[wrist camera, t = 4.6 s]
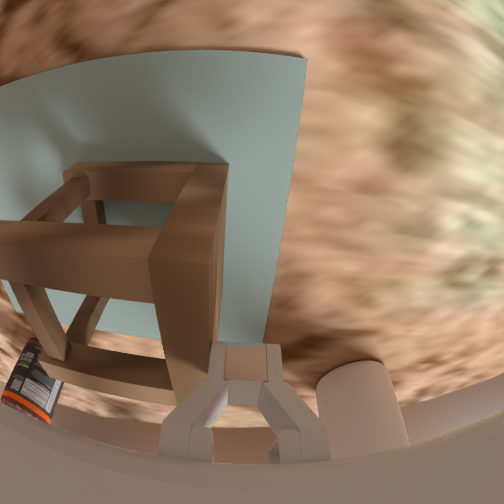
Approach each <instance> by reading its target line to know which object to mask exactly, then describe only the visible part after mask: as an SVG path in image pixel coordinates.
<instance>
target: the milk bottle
mask: <svg viewBox="0 0 504 504" xmlns="http://www.w3.org/2000/svg"><path fill="white" fill-rule="evenodd" d="M316 397H317V405H318V412H319V419H320V420H321V421H322V422H323V424H324V425H325V426H326V427H327V434H328V441H329V448H330V456H331V460H337V459H344V458H351V457H357V456H363V455H368V454H373V453H378V452H383V451H388V450H392V449H396V448H400V447H404V446H408V445H410V444H409V440H408V436H407V432H406V428H405V425H404V421H403V417H402V414H401V411H400V407H399V404H398V401H397V397H396V394H395V391H394V388H393V385H392V382H391V379H390V376H389V373H388V371H387V369H386V367H385V366H384V365H383V364H381V363H379V362H376V361H370V360H367V361H357V362H353V363H349V364H346V365H343V366H340V367H338V368H336V369H334V370H332V371H330V372H329V373H327V374H326V375H325V376H323V377H322V378H321V379H320V380H319V382H318V384H317V387H316Z"/></svg>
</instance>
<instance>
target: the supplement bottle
mask: <svg viewBox="0 0 504 504" xmlns="http://www.w3.org/2000/svg"><path fill="white" fill-rule="evenodd" d="M42 350H43V347H42V345H41V343H40V342H39V340H38V339H31V340H29V341H28V342H27V344H26V346H25V347H24V349H23V351H22V353H21V355H20V357H19V359H18V361H17V363H16V365H15V367H14V369H13V371H12V373H11V376H10V378H9V380H8V382H7V384H6V387H5V389H4V391H3V394H2V397H1V402H2V403H4V404H5V405H7V406H9V407H11V408H13V409H15V410H17V411H20V412H22V413H24V414H26V415H28V416H30V417H33V418H35V419H37V420H39V421H42V422H44V423H47V424H49V425H50V422H51V419H52V416H53V413H54V410H55V407H56V404H57V401H58V399H59V396H60V393H61V390H62V387H63V385H64V382H62V381H59V380H56V379H53V378H50V377H49V375H48V374H47V373H46V371H45V370H44V368H43V367H42V366H41V364H40V363H39V361H38V358H39V356H40V354H41V352H42Z"/></svg>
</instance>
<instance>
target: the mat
mask: <svg viewBox="0 0 504 504" xmlns="http://www.w3.org/2000/svg"><path fill="white" fill-rule="evenodd" d="M307 60H308V59H304V58H298V57H292V56H285V55H277V54H268V53H258V52H246V51H229V50H174V51H157V52H145V53H135V54H127V55H119V56H113V57H106V58H100V59H95V60H90V61H85V62H80V63H75V64H71V65H67V66H63V67H59V68H55V69H51V70H48V71H44V72H41V73H37V74H34V75H31V76H28V77H25V78H22V79H19V80H16V81H13V82H11V83H8V84H5V85H3V86H0V220H14V221H20V220H21V219H22V218H24V217H25V216H26V215H27V214H28V213H29V212H30V211H32V210H33V209H34V208H35V207H36V206H37V205H39V204H40V203H41V202H42V201H43V200H45V199H46V198H47V197H48V196H49V195H51V194H52V193H53V192H55V191H56V190H57V189H58V188H60V187H61V186H62V185H64V181H63V174H62V172H64V171H65V170H67V169H68V168H70V167H71V166H73V165H74V164H76V163H82V162H107V161H178V162H204V163H222V164H229V177H228V193H227V209H226V227H225V247H224V268H223V292H222V302H221V312H220V322H219V332H218V341H226V343H227V342H242V343H263V337H264V332H265V327H266V322H267V316H268V311H269V306H270V300H271V295H272V289H273V284H274V278H275V273H276V267H277V261H278V256H279V250H280V244H281V238H282V232H283V226H284V220H285V214H286V208H287V202H288V195H289V189H290V183H291V176H292V170H293V163H294V156H295V150H296V143H297V136H298V129H299V122H300V114H301V107H302V100H303V92H304V84H305V77H306V69H307ZM103 203H104V210H105V216H106V223H107V224H109V225H128V226H146V227H163V225H164V223H165V221H166V219H167V218H168V216H169V214H170V212H171V210H172V208H173V206H174V204H175V203H170V202H147V201H115V200H103ZM63 222H67V223H84V221H83V216H82V211H81V205H79V206H78V207H77V208H76V209H75V210H74V211H73V212H72V213H71V214H70V215H69V216H68V217H67V218H66V219H65V220H64V221H63ZM1 281H2V283H3V285H4V287H5V290H6V292H7V294H8V296H9V298H10V300H11V302H12V304H13V306H14V308H15V310H16V312H20V313H23V311H22V309H21V307H20V305H19V303H18V301H17V299H16V297H15V295H14V293H13V291H12V288H11V286H10V284H9V282H8V281H6V280H2V279H1ZM45 290H46V293H47V295H48V298H49V300H50V302H51V305H52V307H53V309H54V311H55V313H56V316H57V318H58V320H59V322H61V323H65V324H70V325H71V323H72V321H73V319H74V317H75V315H76V313H77V311H78V310H79V308H80V306H81V304H82V302H83V300H84V299H85V297H86V295H84V294H77V293H71V292H65V291H59V290H53V289H48V288H45ZM95 330H101V331H106V332H112V333H118V334H124V335H131V336H137V337H144V338H152V339H159V340H161V336H160V331H159V326H158V321H157V316H156V310H155V305H154V304H152V303H144V302H135V301H127V300H119V299H112V298H110V299H109V301H108V303H107V305H106V307H105V309H104V311H103V313H102V315H101V317H100V320H99V322H98V324H97V326H96V328H95Z"/></svg>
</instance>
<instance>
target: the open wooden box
mask: <svg viewBox="0 0 504 504" xmlns="http://www.w3.org/2000/svg"><path fill="white" fill-rule="evenodd" d="M62 174H63V181H64V185H62V186H61V187H60V188H58V189H57V190H56V191H55V192H53V193H52V194H51V195H49V196H48V197H47V198H46V199H45V200H43V201H42V202H41V203H40V204H39V205H37V206H36V207H35V208H34V209H33V210H32V211H30V212H29V213H28V214H27V215H26V216H25V217H24V218H22V219H21V220H20V221H14V220H0V279H2V280H6V281H8V282H9V284H10V286H11V288H12V291H13V293H14V295H15V297H16V299H17V301H18V303H19V305H20V307H21V309H22V311H23V313H24V315H25V317H26V319H27V321H28V323H29V324H30V326H31V328H32V330H33V332H34V333H35V335H36V337H37V338H38V340H39V342H40V343H41V345H42V347H43V350H42V352H41V354H40V356H39V358H38V361H39V363H40V364H41V366H42V367H43V368H44V370H45V371H46V373H47V374H48V375H49V377H50V378H53V379H56V380H59V381H62V382H66V383H69V384H73V385H76V386H80V387H83V388H87V389H91V390H95V391H99V392H103V393H107V394H111V395H116V396H121V397H125V398H130V399H135V400H141V401H147V402H152V403H159V404H165V405H172V406H178V405H179V404H180V402H181V401H182V400H183V399H184V398H185V397H186V396H187V395H188V394H189V393H190V392H191V391H192V390H193V389H194V388H195V387H196V386H197V385H198V383H199V382H200V381H201V380H202V379H203V378H205V379H207V377H208V368H209V359H210V350H211V343H212V340H215V341H218V332H219V322H220V312H221V302H222V292H223V268H224V247H225V227H226V209H227V193H228V177H229V164H222V163H204V162H178V161H107V162H82V163H76V164H74V165H73V166H71V167H70V168H68V169H67V170H65V171H64V172H62ZM103 200H115V201H147V202H170V203H175V204H174V206H173V208H172V210H171V212H170V214H169V216H168V218H167V219H166V221H165V223H164V225H163V227H146V226H128V225H109V224H107V223H106V216H105V210H104V203H103ZM79 205H81V211H82V216H83V221H84V223H67V222H63V221H64V220H65V219H66V218H67V217H68V216H69V215H70V214H71V213H72V212H73V211H74V210H75V209H76V208H77V207H78V206H79ZM45 288H48V289H53V290H59V291H65V292H71V293H77V294H84V295H86V297H85V299H84V300H83V302H82V304H81V306H80V308H79V310H78V311H77V313H76V315H75V317H74V319H73V321H72V323H71V325H70V327H69V329H68V331H67V333H66V334H65V332H64V330H63V328H62V326H61V324H60V322H59V320H58V318H57V316H56V313H55V311H54V309H53V307H52V305H51V302H50V300H49V298H48V295H47V293H46V290H45ZM110 298H112V299H119V300H127V301H135V302H144V303H152V304H154V305H155V310H156V316H157V321H158V326H159V331H160V336H161V341H162V345H163V350H164V354H165V359H160V358H152V357H146V356H139V355H133V354H127V353H121V352H116V351H110V350H105V349H100V348H95V347H90V346H88V344H89V342H90V340H91V337H92V335H93V333H94V331H95V328H96V326H97V324H98V322H99V320H100V317H101V315H102V313H103V311H104V309H105V307H106V305H107V303H108V301H109V299H110Z"/></svg>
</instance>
